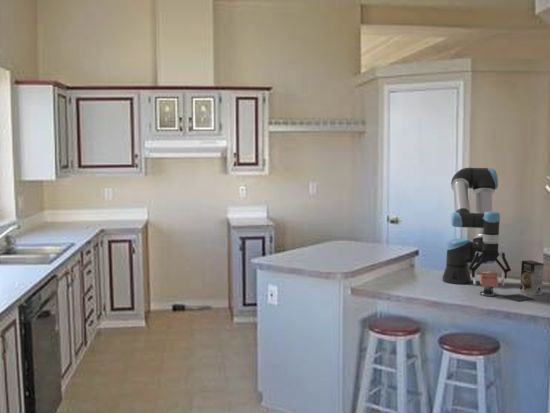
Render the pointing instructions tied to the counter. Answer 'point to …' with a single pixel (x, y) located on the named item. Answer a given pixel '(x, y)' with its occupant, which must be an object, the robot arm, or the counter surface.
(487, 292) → the post
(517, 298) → the dark grey square plate
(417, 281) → the counter surface
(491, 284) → the cap
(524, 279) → the coffee box
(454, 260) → the robot arm
